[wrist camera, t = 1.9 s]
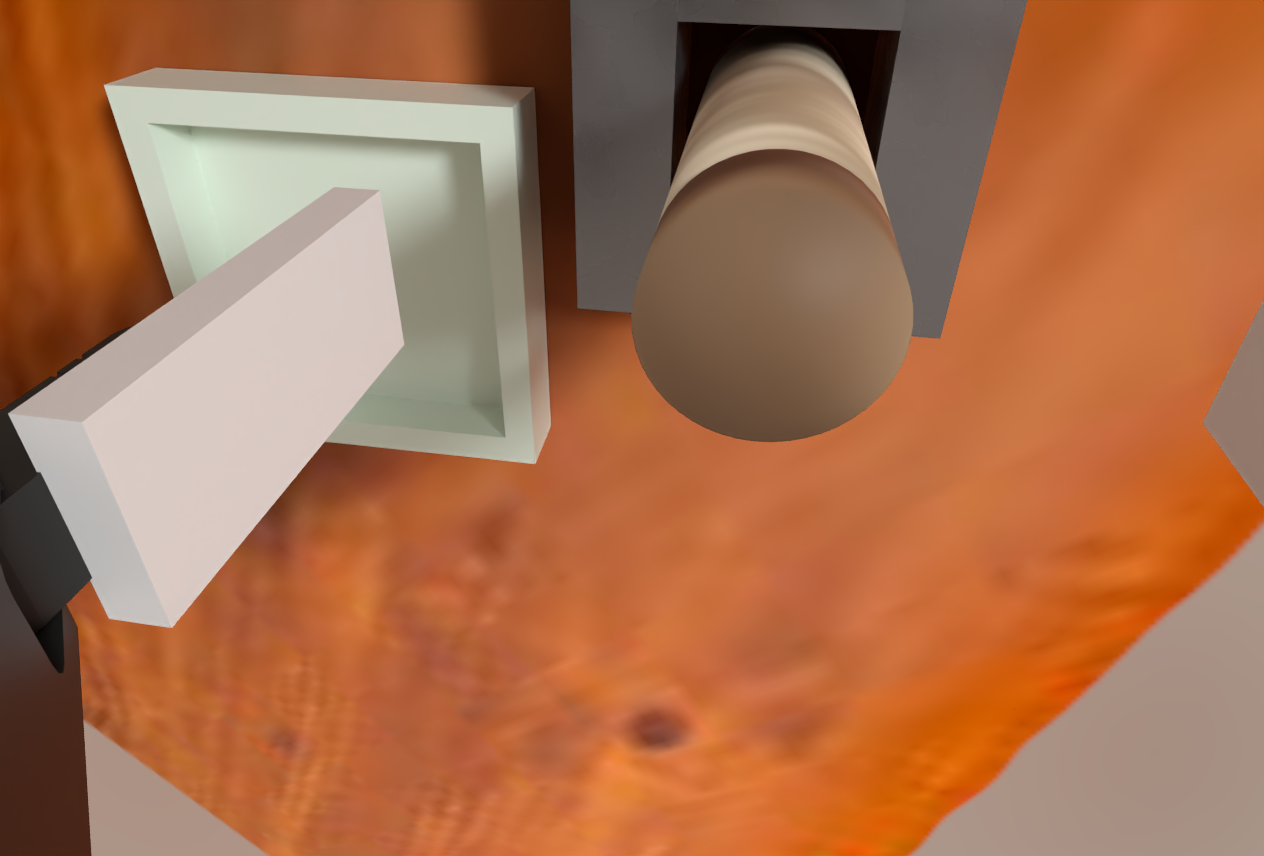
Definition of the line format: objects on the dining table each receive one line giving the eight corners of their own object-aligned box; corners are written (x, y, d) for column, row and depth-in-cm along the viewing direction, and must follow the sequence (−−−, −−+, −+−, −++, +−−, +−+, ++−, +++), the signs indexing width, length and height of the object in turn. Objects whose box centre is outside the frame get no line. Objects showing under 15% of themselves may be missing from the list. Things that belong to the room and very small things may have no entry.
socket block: (602, 253, 27) (577, 308, 23) (601, -116, 21) (567, -112, 18) (920, 277, 26) (939, 338, 22) (1008, -107, 20) (1053, -101, 17)
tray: (251, 395, 32) (217, 430, 30) (155, 67, 26) (103, 84, 24) (551, 425, 31) (535, 464, 29) (534, 87, 24) (512, 107, 22)
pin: (701, 166, 25) (629, 428, 13) (710, 18, 22) (634, 182, 11) (836, 175, 24) (883, 453, 13) (860, 24, 22) (942, 202, 11)
